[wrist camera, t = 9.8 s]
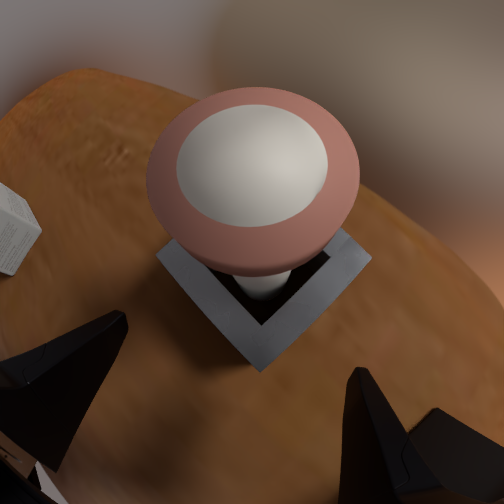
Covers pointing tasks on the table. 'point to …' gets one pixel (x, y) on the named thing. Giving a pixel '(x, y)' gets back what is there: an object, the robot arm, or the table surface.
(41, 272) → the table surface
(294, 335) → the block
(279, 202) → the pin
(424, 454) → the phone stand
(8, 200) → the skincare box
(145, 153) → the table surface
